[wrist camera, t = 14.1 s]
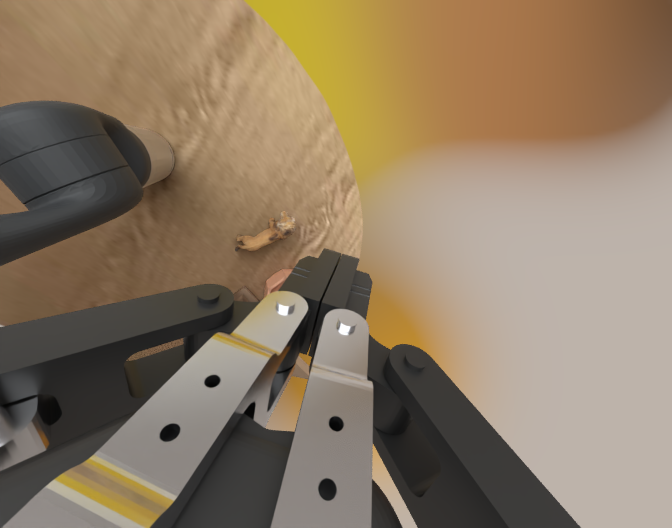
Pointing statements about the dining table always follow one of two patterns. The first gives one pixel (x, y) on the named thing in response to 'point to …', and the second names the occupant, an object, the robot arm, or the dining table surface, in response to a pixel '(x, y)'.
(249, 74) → the dining table surface
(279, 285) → the bowl
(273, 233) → the lion figurine
